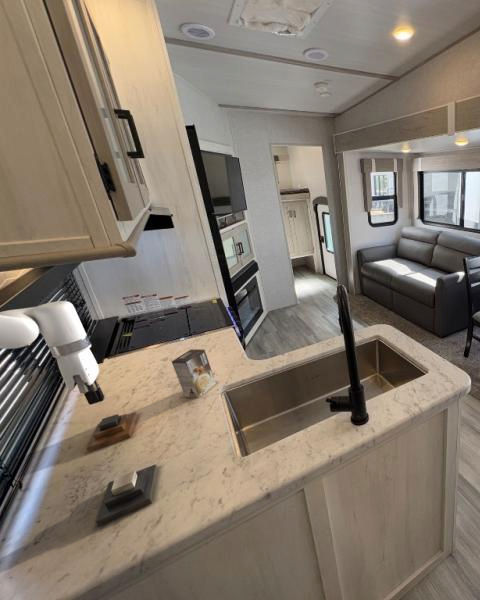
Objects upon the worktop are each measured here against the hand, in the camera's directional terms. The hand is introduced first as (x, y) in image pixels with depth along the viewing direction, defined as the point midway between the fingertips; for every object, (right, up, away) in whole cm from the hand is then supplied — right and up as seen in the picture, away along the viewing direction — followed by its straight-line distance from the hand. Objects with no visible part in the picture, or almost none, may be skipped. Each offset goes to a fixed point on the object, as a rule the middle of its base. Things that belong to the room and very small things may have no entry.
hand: (97, 401), depth 90 cm
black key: (-4, -10, +8) cm, 14 cm away
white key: (+21, -17, -13) cm, 30 cm away
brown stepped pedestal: (-4, -14, +10) cm, 17 cm away
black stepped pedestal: (+21, -20, -12) cm, 31 cm away
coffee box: (+12, -6, +29) cm, 32 cm away
